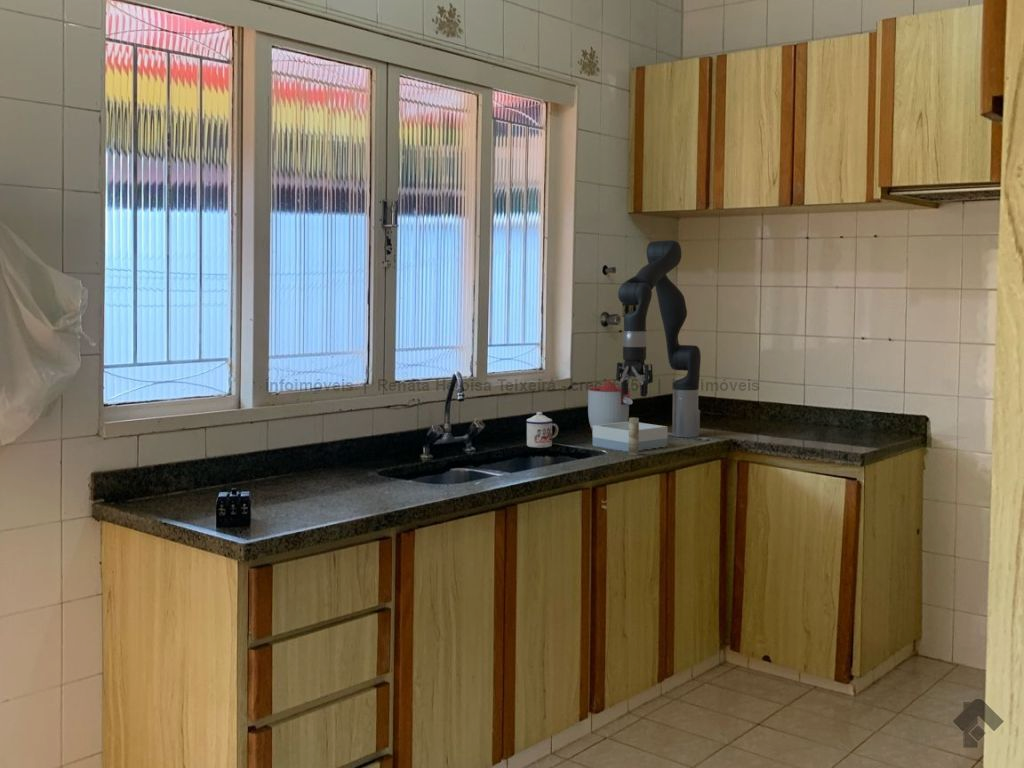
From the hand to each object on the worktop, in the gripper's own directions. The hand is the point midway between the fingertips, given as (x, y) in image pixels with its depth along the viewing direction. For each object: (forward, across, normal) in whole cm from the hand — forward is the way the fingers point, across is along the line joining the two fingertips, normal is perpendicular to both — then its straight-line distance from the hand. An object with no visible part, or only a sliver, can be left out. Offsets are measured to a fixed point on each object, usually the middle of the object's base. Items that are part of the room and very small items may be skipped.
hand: (634, 395), depth 335 cm
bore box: (+19, +14, -12) cm, 27 cm away
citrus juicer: (+20, +40, -28) cm, 53 cm away
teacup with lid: (+20, +34, +10) cm, 40 cm away
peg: (+19, 0, 0) cm, 19 cm away
